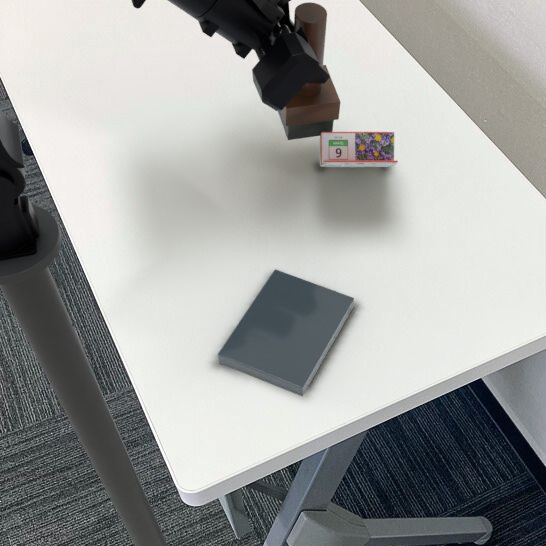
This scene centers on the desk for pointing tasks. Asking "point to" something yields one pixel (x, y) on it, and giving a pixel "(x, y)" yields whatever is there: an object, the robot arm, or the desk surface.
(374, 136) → the ink box
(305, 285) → the ceramic tile
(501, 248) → the desk surface
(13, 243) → the robot arm
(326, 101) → the wooden stamp handle
